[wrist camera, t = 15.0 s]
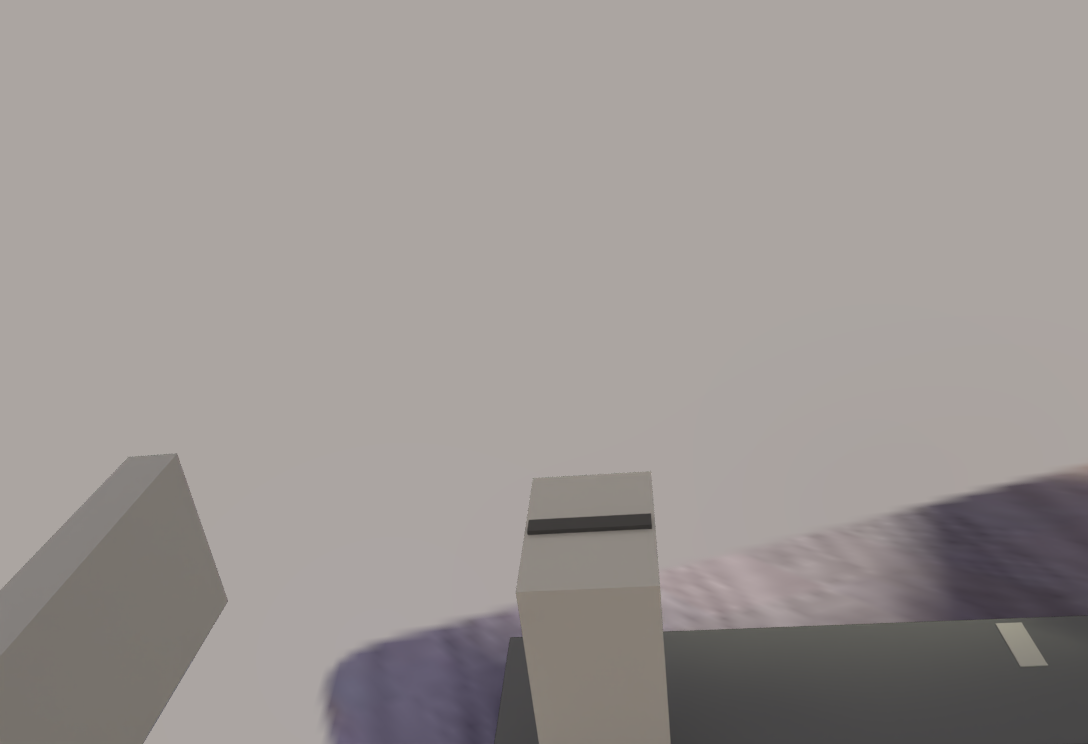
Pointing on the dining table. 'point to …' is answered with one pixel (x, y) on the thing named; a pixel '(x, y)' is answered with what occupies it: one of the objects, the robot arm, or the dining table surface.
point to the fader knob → (593, 611)
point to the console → (861, 684)
